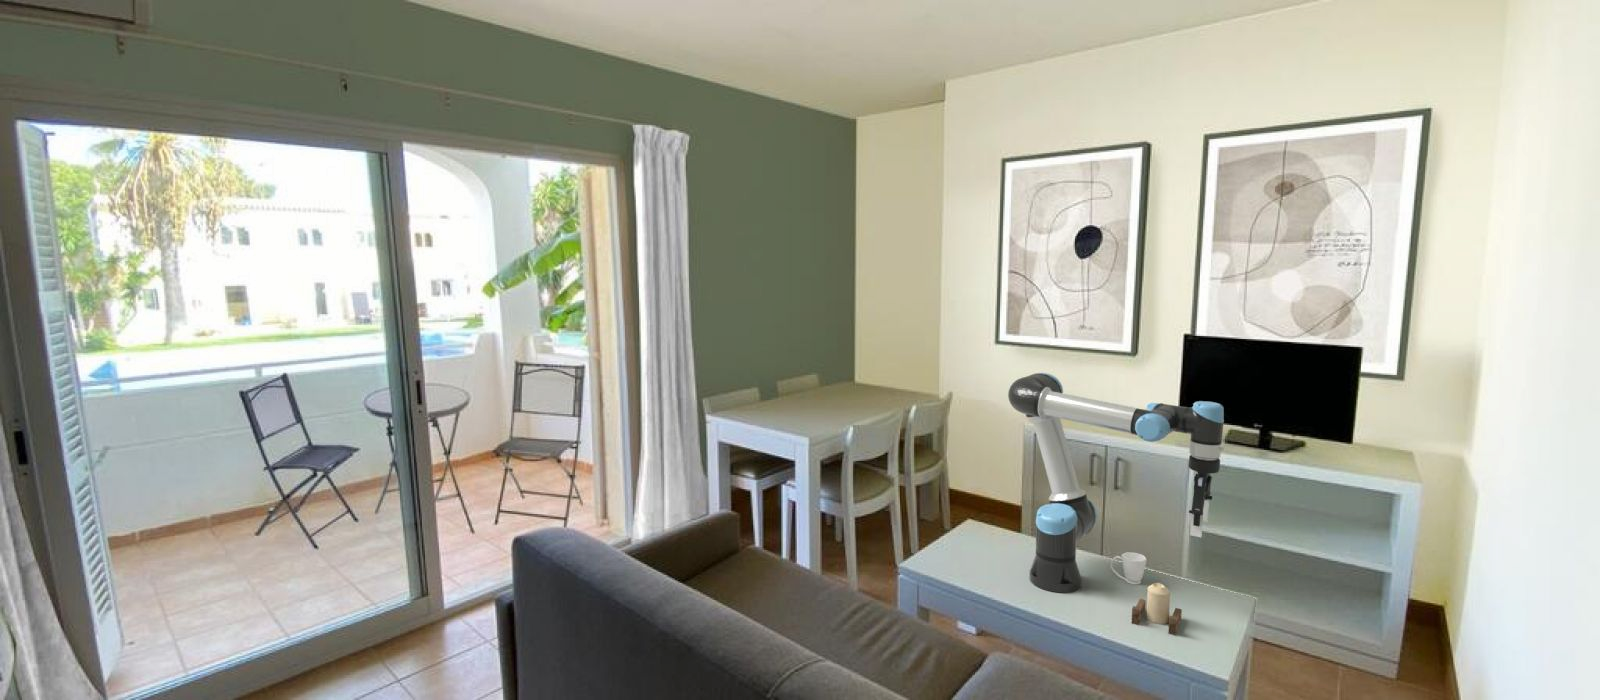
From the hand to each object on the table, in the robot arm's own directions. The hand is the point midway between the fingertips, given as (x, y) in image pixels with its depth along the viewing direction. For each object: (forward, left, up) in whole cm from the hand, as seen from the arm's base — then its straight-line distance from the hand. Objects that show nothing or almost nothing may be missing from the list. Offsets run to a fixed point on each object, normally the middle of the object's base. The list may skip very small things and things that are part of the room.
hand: (1199, 528), depth 191 cm
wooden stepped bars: (-7, -18, -22) cm, 30 cm away
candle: (-7, -17, -23) cm, 29 cm away
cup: (-19, +4, -23) cm, 30 cm away
